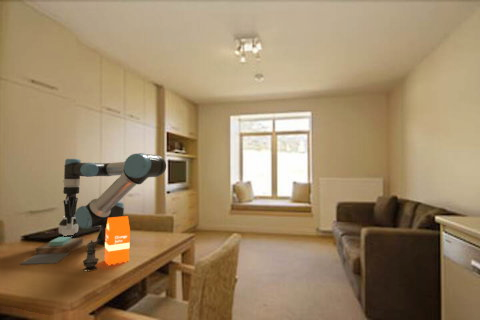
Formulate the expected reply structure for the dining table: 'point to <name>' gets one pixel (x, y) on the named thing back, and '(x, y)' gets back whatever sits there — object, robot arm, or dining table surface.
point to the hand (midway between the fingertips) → (69, 229)
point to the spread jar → (64, 224)
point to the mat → (45, 258)
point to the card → (60, 241)
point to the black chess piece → (90, 257)
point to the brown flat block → (60, 247)
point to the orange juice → (117, 240)
